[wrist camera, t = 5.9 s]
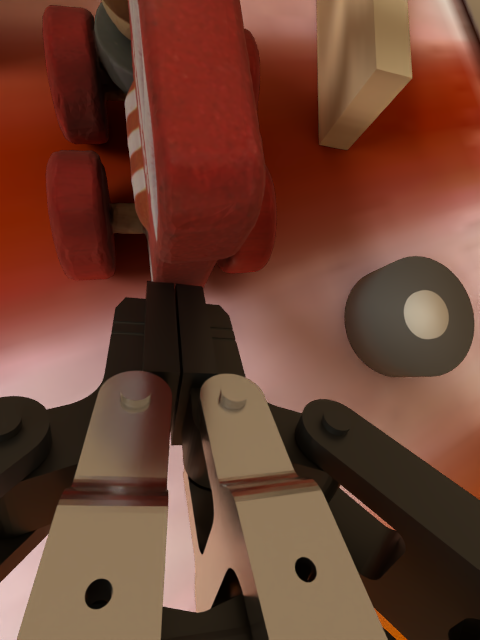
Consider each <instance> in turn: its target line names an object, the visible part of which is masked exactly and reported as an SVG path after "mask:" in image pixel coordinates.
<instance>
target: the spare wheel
mask: <svg viewBox="0 0 480 640" xmlns="http://www.w3.org/2000/svg"><path fill="white" fill-rule="evenodd" d="M345 327H346V332H347V336H348V339H349V341H350V344H351V346H352V348H353V350H354V351H355V353H356V354H357V356H358V357H359V358H360V359H361V360H362V361H363V362H364V363H365V364H366V365H367V366H368V367H369V368H371V369H372V370H374V371H376V372H378V373H380V374H383V375H386V376H391V377H431V376H439V375H443V374H446V373H448V372H450V371H451V370H453V369H454V368H456V367H457V366H458V365H459V364H460V363H461V362H462V361H463V359H464V358H465V356H466V355H467V353H468V351H469V349H470V346H471V343H472V340H473V335H474V315H473V309H472V305H471V302H470V299H469V297H468V294H467V292H466V290H465V288H464V287H463V285H462V284H461V282H460V281H459V279H458V278H457V277H456V276H455V275H454V274H453V273H452V272H451V271H450V270H449V269H448V268H447V267H445V266H444V265H442V264H441V263H439V262H437V261H435V260H432V259H430V258H425V257H418V256H413V257H406V258H402V259H400V260H397V261H395V262H393V263H391V264H389V265H387V266H384V267H382V268H380V269H378V270H376V271H374V272H372V273H369V274H368V275H366V276H364V277H363V278H362V279H360V280H359V281H358V282H357V283H356V285H355V286H354V287H353V289H352V290H351V292H350V294H349V296H348V299H347V302H346V307H345Z"/></svg>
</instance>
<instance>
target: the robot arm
mask: <svg viewBox="0 0 480 640" xmlns="http://www.w3.org/2000/svg"><path fill="white" fill-rule="evenodd" d="M232 329H233V328H232V324H231V321H230V317H229V315H228V314H227V313H226V312H225V311H224V310H223V309H222V307H221V306H220V305H212V304H206V303H205V297H204V292H203V287H202V286H195V285H184V284H176V285H175V289H174V283H164V282H153V281H147V288H146V299H139V298H127V297H126V298H125V299H124V300H123V301H122V302H121V303H120V304H119V305H118V306H117V307H116V308H115V314H114V320H113V326H112V334H111V339H110V345H109V351H108V357H107V363H106V369H105V375H104V379H103V381H102V383H101V385H100V386H99V387H98V389H97V390H95V391H94V392H93V393H92V394H91V395H89V396H88V397H86V398H84V399H82V400H80V401H78V402H75V403H72V404H69V405H65V406H60V407H56V408H52V409H47V410H46V409H45V407H44V406H43V405H42V404H40V403H39V402H37V401H35V400H33V399H30V398H26V397H19V396H9V397H1V398H0V582H1V581H2V580H3V579H4V578H5V577H6V576H7V575H8V574H9V573H10V572H11V571H12V570H13V569H14V568H15V567H16V566H17V565H18V564H19V563H20V562H21V561H22V560H23V559H24V558H25V557H26V556H27V555H28V554H29V553H30V552H31V551H32V550H33V549H34V548H35V547H36V546H37V545H38V544H39V543H40V542H41V541H42V540H43V539H44V538H45V537H46V536H47V535H48V533H49V535H48V538H47V541H46V545H45V548H44V551H43V554H42V558H41V561H40V564H39V568H38V571H37V574H36V578H35V581H34V584H33V588H32V591H31V594H30V597H29V601H28V604H27V607H26V611H25V614H24V617H23V621H22V624H21V627H20V630H19V634H18V637H17V640H396V639H395V638H394V637H393V636H392V635H391V634H390V633H389V632H388V631H386V630H385V629H384V628H383V627H382V625H381V623H380V621H379V619H378V616H377V614H376V612H375V610H374V608H375V609H376V610H377V611H378V612H379V613H380V614H381V615H383V616H384V617H385V618H386V619H387V620H388V621H389V622H390V623H391V624H392V625H393V626H394V627H395V628H396V629H397V630H398V631H399V632H400V633H401V634H402V635H403V636H404V637H406V638H407V639H408V640H480V500H479V499H477V498H476V497H474V496H473V495H472V494H470V493H469V492H467V491H466V490H464V489H463V488H462V487H460V486H459V485H457V484H456V483H455V482H453V481H452V480H450V479H449V478H447V477H446V476H445V475H443V474H442V473H440V472H439V471H438V470H436V469H435V468H433V467H432V466H430V465H429V464H428V463H426V462H425V461H423V460H422V459H420V458H419V457H418V456H416V455H415V454H413V453H412V452H411V451H409V450H408V449H406V448H405V447H403V446H402V445H401V444H399V443H398V442H396V441H395V440H394V439H392V438H391V437H389V436H388V435H386V434H385V433H384V432H382V431H381V430H379V429H378V428H377V427H375V426H374V425H372V424H371V423H369V422H368V421H367V420H365V419H364V418H362V417H361V416H359V415H358V414H357V413H355V412H354V411H352V410H351V409H350V408H348V407H346V406H345V405H343V404H341V403H338V402H335V401H332V400H326V399H319V400H314V401H312V402H310V403H308V404H307V405H306V406H305V408H304V410H303V412H302V413H299V412H295V411H292V410H288V409H284V408H281V407H277V406H274V405H272V404H270V403H267V401H266V399H265V396H264V394H263V392H262V391H261V389H260V388H259V387H258V386H257V385H256V384H255V383H254V382H252V381H251V380H249V379H247V378H245V374H244V370H243V366H242V362H241V359H240V355H239V351H238V347H237V343H236V341H235V336H234V332H233V331H232ZM170 432H171V445H182V448H183V463H184V472H183V478H184V486H185V493H186V500H187V507H188V514H189V521H190V528H191V535H192V543H193V550H194V557H195V604H196V612H189V611H183V610H178V609H172V608H167V607H162V606H163V588H164V571H165V553H166V535H167V517H168V490H167V472H168V456H169V440H170ZM340 485H342V486H343V487H344V488H346V489H347V490H348V491H349V492H350V493H352V494H353V495H354V496H355V497H356V498H358V499H359V500H360V501H361V502H362V503H364V504H365V505H366V506H367V507H369V508H370V509H371V510H372V511H373V512H375V513H376V514H377V515H378V516H379V517H381V518H382V519H383V520H384V521H386V522H387V523H388V524H389V525H390V526H392V527H393V528H394V529H395V530H392V529H390V528H388V527H386V526H385V525H383V524H382V523H381V522H380V521H378V520H377V519H376V518H375V517H374V516H372V515H371V514H370V513H369V512H368V511H366V510H365V509H364V508H363V507H362V506H360V505H359V504H358V503H357V502H356V501H354V500H353V499H352V498H351V497H350V496H348V495H347V494H346V493H345V492H344V491H342V490H341V489H340V488H339V487H340Z"/></svg>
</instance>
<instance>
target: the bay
mask: <svg viewBox="0 0 480 640" xmlns="http://www.w3.org/2000/svg"><path fill="white" fill-rule="evenodd" d="M317 60H318V121H319V145H323V146H328V147H333V148H338V149H344V150H348V149H349V148H350V147H351V146H352V144H353V143H354V142H355V141H356V140H357V139H358V138H359V137H360V136H361V134H362V133H363V132H364V131H365V130H366V129H367V128H368V127H369V126H370V125H371V123H372V122H373V121H374V120H375V119H376V118H377V117H378V116H379V115H380V113H381V112H382V111H383V110H384V109H385V108H386V107H387V106H388V105H389V103H390V102H391V101H392V100H393V99H394V98H395V97H396V96H397V95H398V93H399V92H400V91H401V90H402V89H403V88H404V87H405V86H406V85H407V83H408V82H409V81H410V80H411V79H412V64H411V49H410V33H409V17H408V2H407V0H317Z"/></svg>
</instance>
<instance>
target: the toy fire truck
mask: <svg viewBox="0 0 480 640" xmlns="http://www.w3.org/2000/svg"><path fill="white" fill-rule="evenodd" d="M101 1H102V2H101V4H100V6H99V7H98V9H97V12H96V16H95V22H94V17H93V15H92V14H91V12H89V11H88V10H86V9H83V8H76V7H65V6H55V5H50V6H48V7H47V8H46V9H45V12H44V15H43V27H42V31H43V39H44V51H45V61H46V68H47V74H48V80H49V85H50V90H51V94H52V99H53V103H54V108H55V112H56V115H57V119H58V122H59V126H60V129H61V130H62V132H63V135H64V136H65V138H66V139H67V140H68V141H70V142H72V143H74V144H102V143H106V142H107V140H108V117H107V106H106V100H114V101H125V113H126V127H127V139H128V148H129V156H130V167H131V181H132V186H133V193H134V200H135V204H133V203H115V204H111V203H110V198H109V191H108V185H107V177H106V172H105V168H104V166H103V164H102V163H101V160H100V157H99V155H98V154H97V153H96V152H94V151H74V150H69V151H67V150H61V151H59V152H54V153H53V154H52V155H51V157H50V159H49V161H48V164H47V168H46V170H47V171H46V190H47V204H48V212H49V218H50V225H51V230H52V235H53V239H54V244H55V247H56V251H57V254H58V258H59V261H60V264H61V266H62V268H63V270H64V272H65V274H66V275H67V276H68V278H71V279H73V280H95V279H107V278H110V277H111V276H113V274H114V272H115V269H116V266H115V243H114V233H121V234H127V233H129V234H142V233H144V234H145V235H146V239H147V245H148V252H149V261H150V270H151V279H152V281H153V282H164V283H174V289H175V285H176V284H184V285H195V286H202V287H204V285H205V284H206V282H207V280H208V278H209V276H210V274H211V272H212V270H213V268H214V266H215V264H216V262H217V263H218V266H219V267H220V269H221V270H222V271H224V272H226V273H246V272H256V271H259V270H261V269H262V268H263V267H264V266H265V265H266V264H267V262H268V261H269V258H270V255H271V253H272V249H273V246H274V240H275V235H276V224H277V208H276V197H275V190H274V185H273V181H272V178H271V175H270V173H269V170H268V168H267V166H266V165H265V160H264V153H263V148H262V138H261V134H260V131H259V122H258V116H257V107H258V99H259V88H260V60H259V52H258V49H257V45H256V42H255V39H254V37H253V36H252V34H251V33H250V31H248V30H247V29H244V26H243V19H242V12H241V6H240V0H101Z"/></svg>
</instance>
